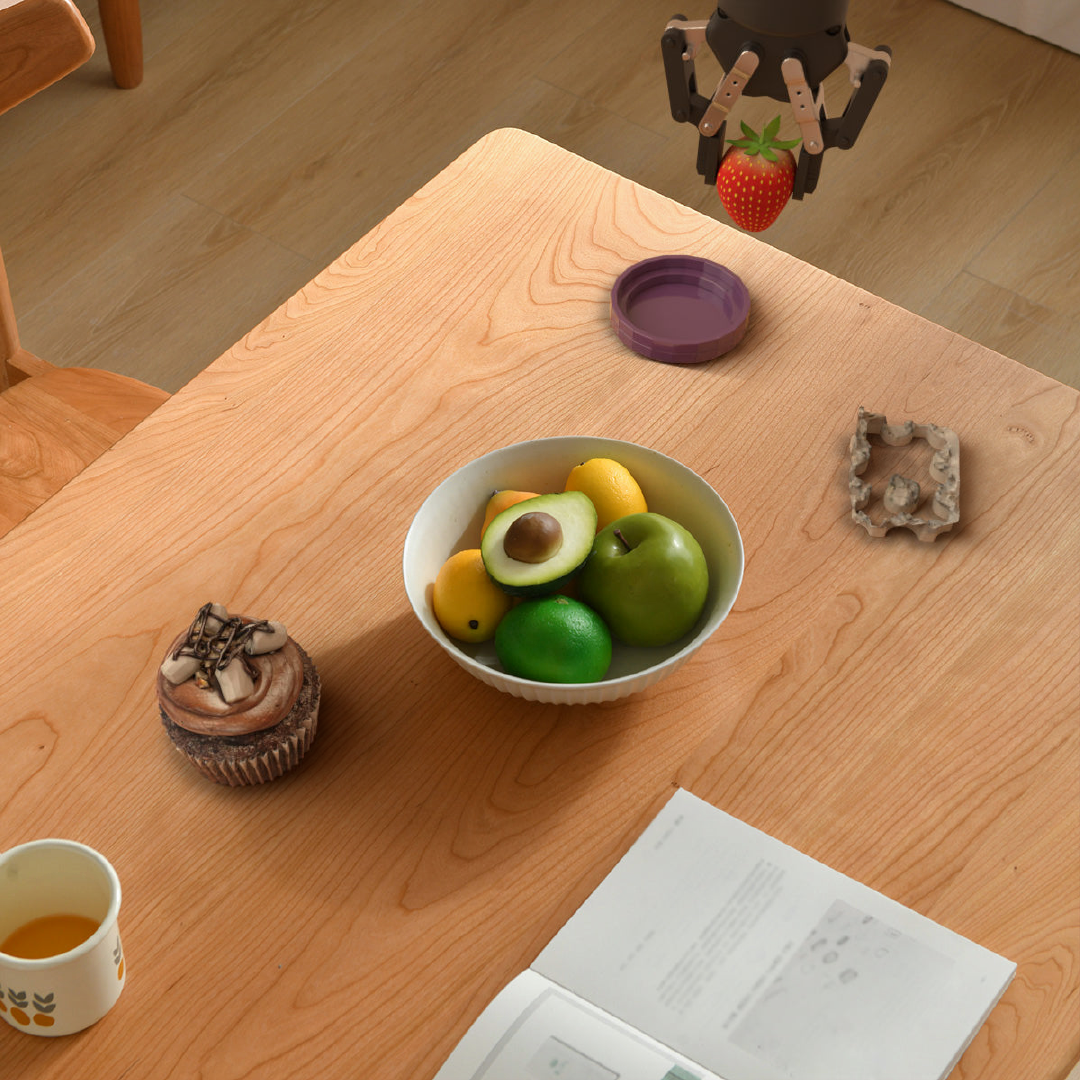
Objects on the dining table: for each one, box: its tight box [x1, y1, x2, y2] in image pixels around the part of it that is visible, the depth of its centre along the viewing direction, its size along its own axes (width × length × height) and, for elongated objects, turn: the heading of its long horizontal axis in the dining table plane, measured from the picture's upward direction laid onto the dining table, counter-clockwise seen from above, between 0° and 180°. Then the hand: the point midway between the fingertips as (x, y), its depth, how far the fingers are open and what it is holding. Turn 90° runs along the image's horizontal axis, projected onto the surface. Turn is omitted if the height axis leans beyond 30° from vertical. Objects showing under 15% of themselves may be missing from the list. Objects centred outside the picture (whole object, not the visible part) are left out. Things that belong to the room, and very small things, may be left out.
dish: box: [609, 254, 752, 364], centre depth 108 cm, size 11×11×3 cm
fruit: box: [716, 113, 803, 233], centre depth 88 cm, size 5×5×8 cm
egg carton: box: [848, 405, 961, 543], centre depth 95 cm, size 11×8×4 cm
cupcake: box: [154, 601, 322, 787], centre depth 80 cm, size 10×10×10 cm
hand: (755, 184), depth 88 cm, fingers closed on fruit, 5 cm apart
